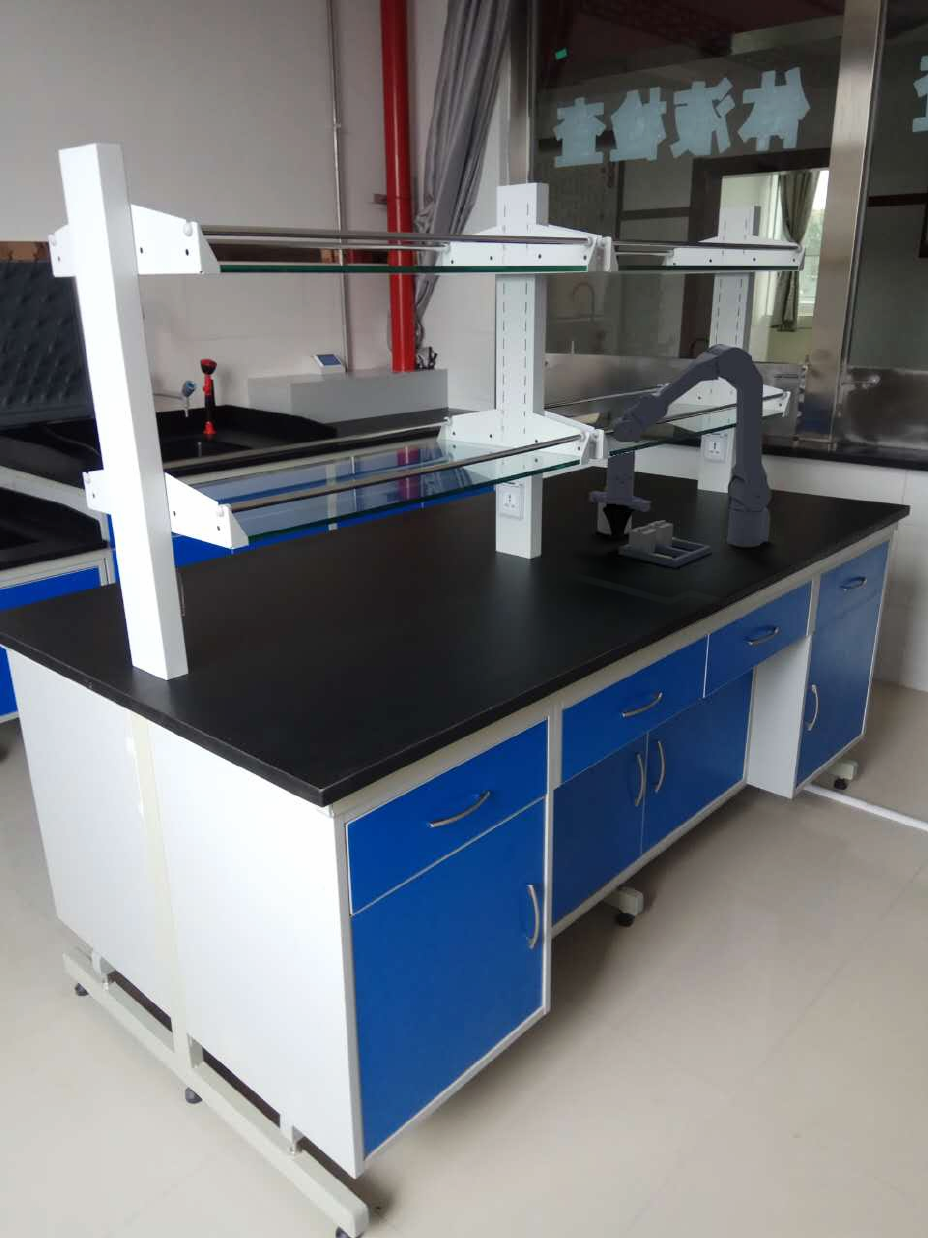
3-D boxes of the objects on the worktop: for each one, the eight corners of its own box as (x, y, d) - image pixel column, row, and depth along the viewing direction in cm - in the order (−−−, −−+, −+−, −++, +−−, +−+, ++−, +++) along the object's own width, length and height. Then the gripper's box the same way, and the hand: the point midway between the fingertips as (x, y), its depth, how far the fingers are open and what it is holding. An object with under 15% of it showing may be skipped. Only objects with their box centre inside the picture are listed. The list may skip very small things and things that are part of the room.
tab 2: (655, 543, 205) (657, 518, 203) (671, 546, 202) (673, 521, 200) (645, 546, 202) (647, 521, 200) (661, 550, 199) (662, 525, 197)
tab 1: (639, 549, 200) (640, 524, 198) (654, 552, 198) (656, 527, 196) (628, 553, 198) (629, 527, 196) (644, 556, 195) (645, 531, 193)
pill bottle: (630, 539, 211) (632, 492, 207) (596, 538, 213) (598, 491, 209) (631, 530, 218) (633, 484, 214) (598, 529, 220) (600, 483, 216)
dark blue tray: (638, 541, 210) (638, 529, 209) (712, 558, 197) (714, 545, 197) (600, 554, 201) (601, 542, 200) (676, 573, 188) (677, 560, 187)
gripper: (581, 474, 198) (579, 535, 203) (638, 484, 189) (634, 548, 194) (601, 469, 203) (598, 529, 208) (657, 479, 194) (653, 541, 198)
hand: (617, 538), depth 201 cm, fingers closed
